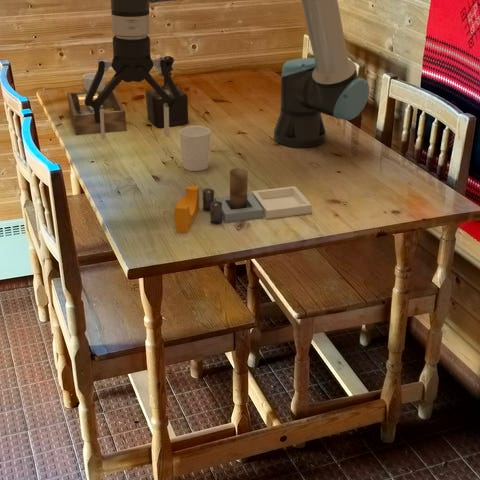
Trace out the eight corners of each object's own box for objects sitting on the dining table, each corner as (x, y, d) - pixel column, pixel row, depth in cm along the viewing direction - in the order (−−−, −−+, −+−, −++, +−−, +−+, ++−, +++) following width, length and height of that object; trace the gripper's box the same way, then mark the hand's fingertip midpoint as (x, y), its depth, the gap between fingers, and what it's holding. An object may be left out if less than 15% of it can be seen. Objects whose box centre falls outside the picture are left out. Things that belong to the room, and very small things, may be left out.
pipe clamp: (181, 209, 171) (180, 184, 168) (199, 211, 170) (198, 186, 167) (168, 233, 160) (167, 207, 157) (187, 235, 160) (186, 208, 157)
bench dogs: (212, 207, 172) (212, 187, 169) (223, 225, 164) (223, 205, 161) (201, 208, 171) (201, 189, 169) (212, 226, 163) (211, 206, 161)
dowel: (244, 206, 171) (244, 167, 166) (249, 214, 168) (249, 174, 163) (227, 208, 170) (227, 169, 165) (232, 216, 167) (232, 176, 162)
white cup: (184, 173, 189) (183, 137, 184) (178, 162, 196) (177, 127, 191) (213, 170, 191) (213, 134, 186) (206, 159, 198) (206, 124, 193)
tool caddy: (115, 107, 237) (114, 89, 234) (126, 130, 217) (125, 111, 215) (69, 111, 233) (67, 92, 230) (75, 135, 214) (73, 115, 211)
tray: (294, 195, 178) (295, 186, 176) (311, 215, 168) (311, 205, 167) (251, 201, 175) (252, 191, 174) (266, 221, 166) (266, 210, 164)
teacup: (107, 93, 250) (106, 78, 247) (85, 95, 248) (83, 79, 245) (103, 85, 258) (102, 70, 255) (81, 87, 256) (80, 72, 253)
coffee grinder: (191, 124, 223) (189, 65, 214) (157, 129, 219) (154, 69, 210) (174, 109, 235) (172, 53, 227) (141, 113, 231) (138, 57, 223)
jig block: (251, 203, 174) (251, 193, 173) (262, 219, 166) (263, 209, 165) (214, 207, 172) (214, 197, 170) (225, 224, 164) (225, 214, 163)
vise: (71, 113, 231) (69, 93, 228) (103, 110, 234) (101, 90, 231) (81, 132, 216) (79, 110, 213) (115, 128, 220) (113, 106, 217)
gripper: (67, 40, 141) (76, 144, 150) (195, 38, 145) (195, 139, 155) (67, 32, 147) (75, 132, 157) (189, 30, 152) (190, 127, 162)
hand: (135, 136), depth 156 cm, fingers open, 13 cm apart
